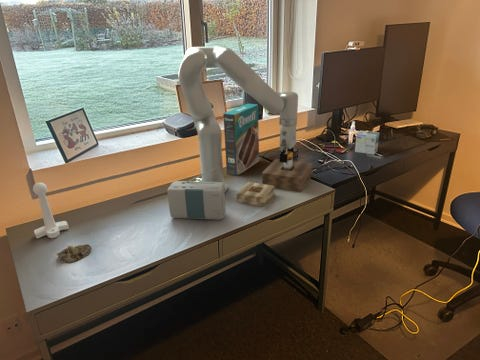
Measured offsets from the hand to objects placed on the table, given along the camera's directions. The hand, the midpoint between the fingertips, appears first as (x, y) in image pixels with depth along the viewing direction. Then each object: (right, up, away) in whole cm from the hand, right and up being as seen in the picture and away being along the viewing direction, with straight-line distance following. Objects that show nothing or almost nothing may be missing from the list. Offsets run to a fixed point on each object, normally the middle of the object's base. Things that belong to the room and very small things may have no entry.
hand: (286, 158), depth 168 cm
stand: (-14, -17, -10) cm, 24 cm away
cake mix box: (-19, -3, +22) cm, 30 cm away
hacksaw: (+22, -3, +21) cm, 30 cm away
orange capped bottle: (+1, -7, +3) cm, 8 cm away
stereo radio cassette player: (-37, -24, -22) cm, 49 cm away
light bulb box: (+48, +6, +37) cm, 61 cm away
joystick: (-90, -30, -30) cm, 99 cm away
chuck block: (+1, -10, +5) cm, 11 cm away
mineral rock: (-76, -35, -43) cm, 94 cm away
